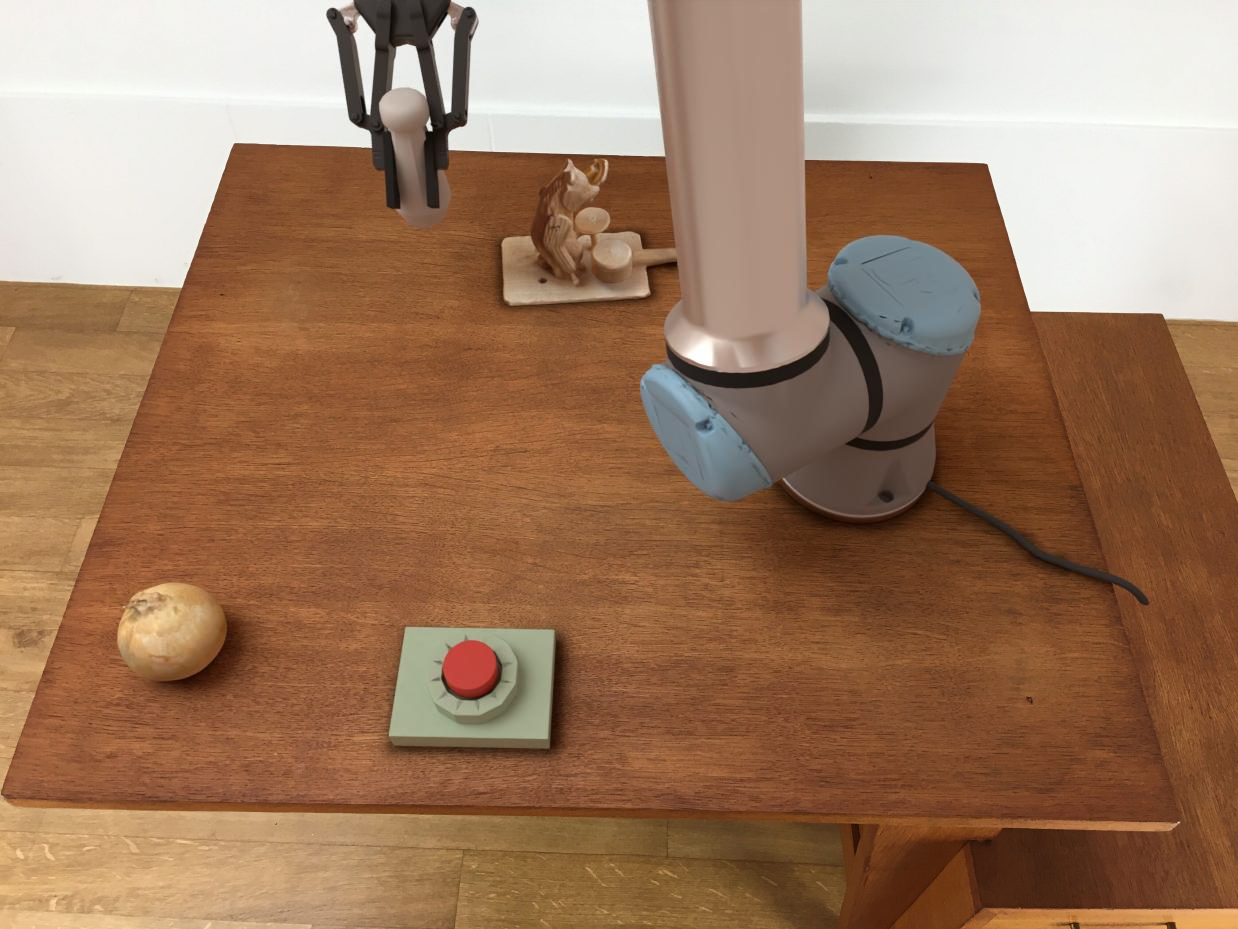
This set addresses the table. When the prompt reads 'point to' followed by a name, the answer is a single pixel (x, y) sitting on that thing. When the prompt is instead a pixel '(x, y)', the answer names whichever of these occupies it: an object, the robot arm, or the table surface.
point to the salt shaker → (412, 156)
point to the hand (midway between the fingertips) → (413, 206)
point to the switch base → (490, 720)
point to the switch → (470, 669)
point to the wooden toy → (575, 248)
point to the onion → (171, 631)
